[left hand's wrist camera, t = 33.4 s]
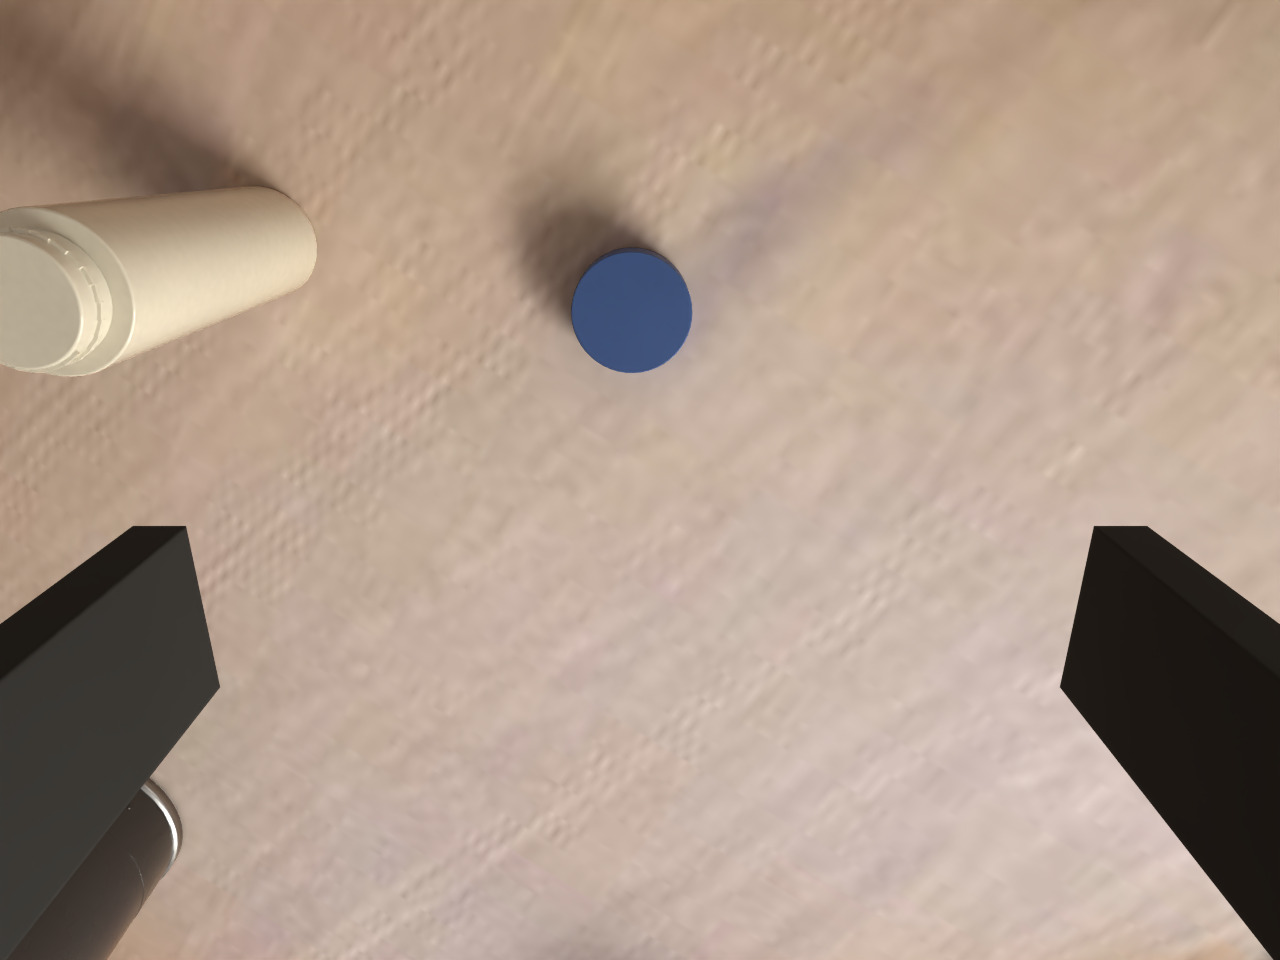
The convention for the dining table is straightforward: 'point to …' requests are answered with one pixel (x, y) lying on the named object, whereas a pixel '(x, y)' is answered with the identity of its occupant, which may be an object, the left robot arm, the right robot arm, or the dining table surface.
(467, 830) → the dining table surface
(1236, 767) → the left robot arm
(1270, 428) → the dining table surface
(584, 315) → the lid
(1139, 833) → the dining table surface
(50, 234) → the cream bottle
